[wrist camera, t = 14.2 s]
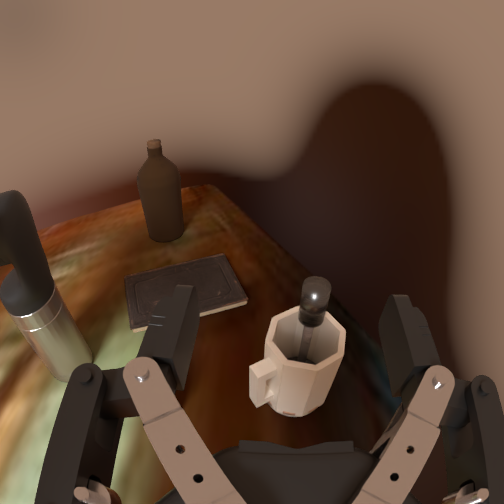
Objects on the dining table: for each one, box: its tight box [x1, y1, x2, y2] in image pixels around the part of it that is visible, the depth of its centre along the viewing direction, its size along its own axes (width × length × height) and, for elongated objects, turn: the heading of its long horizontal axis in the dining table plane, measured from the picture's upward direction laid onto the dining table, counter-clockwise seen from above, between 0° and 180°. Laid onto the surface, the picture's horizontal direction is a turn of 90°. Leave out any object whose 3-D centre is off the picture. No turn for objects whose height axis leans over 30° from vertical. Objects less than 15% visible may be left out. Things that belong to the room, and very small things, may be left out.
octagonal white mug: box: [249, 306, 346, 417], centre depth 42 cm, size 10×12×14 cm
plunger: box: [287, 276, 331, 365], centre depth 38 cm, size 7×7×19 cm
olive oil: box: [137, 139, 184, 242], centre depth 74 cm, size 11×11×25 cm
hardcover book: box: [124, 253, 248, 333], centre depth 64 cm, size 16×23×2 cm
